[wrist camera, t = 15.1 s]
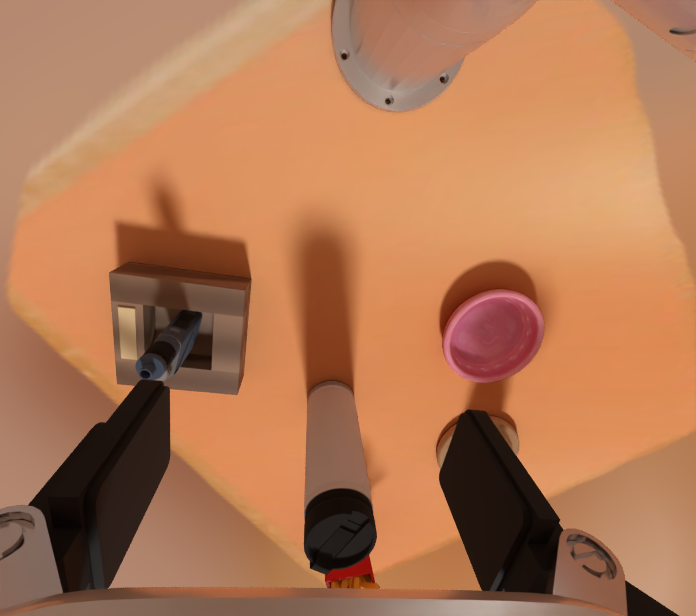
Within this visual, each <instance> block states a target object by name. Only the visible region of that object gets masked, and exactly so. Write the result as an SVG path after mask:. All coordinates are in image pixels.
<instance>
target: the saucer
mask: <svg viewBox="0 0 696 616" xmlns="http://www.w3.org/2000/svg"><path fill="white" fill-rule="evenodd" d="M543 336H544V320H543V316H542V313H541V311H540V309H539V308H538V306H537V305H536V304H535V303H534V302H533V301H532V300H531V299H530V298H528V297H527V296H525V295H523V294H521V293H519V292H516V291H513V290H507V289H494V290H489V291H485V292H482V293H479V294H477V295H475V296H473V297H471V298H469V299H468V300H466V301H465V302H464V303H462V304H461V305H460V306H459V307H458V308H457V309H456V310H455V311H454V313H453V314H452V315H451V317H450V319H449V320H448V322H447V324H446V327H445V329H444V333H443V339H442V347H443V353H444V356H445V358H446V361H447V362H448V364H449V366H450V367H451V368H452V369H453V370H454V371H455V372H456V373H457V374H458V375H459V376H461V377H463V378H465V379H467V380H470V381H474V382H484V383H485V382H495V381H499V380H502V379H505V378H508V377H510V376H512V375H514V374H516V373H517V372H519V371H520V370H522V369H523V368H524V367H525V366H526V365H528V364H529V363H530V361H531V360H532V359H533V358H534V356H535V355H536V353H537V352H538V350H539V348H540V346H541V343H542V340H543Z"/></svg>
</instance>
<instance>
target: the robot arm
mask: <svg viewBox="0 0 696 616" xmlns="http://www.w3.org/2000/svg"><path fill="white" fill-rule="evenodd" d="M537 1H538V0H336V1H335V6H334V11H333V17H332V44H333V49H334V55H335V59H336V61H337V64H338V67H339V70H340V72H341V74H342V76H343V77H344V79H345V81H346V83H347V84H348V86H349V87H350V88H351V89H352V90H353V92H354V93H355V94H356V95H357V96H358V97H360V98H361V99H362V100H363V101H365V102H366V103H368V104H369V105H371V106H373V107H375V108H377V109H381V110H384V111H388V112H405V111H411V110H414V109H417V108H420V107H422V106H424V105H426V104H428V103H429V102H431V101H433V100H434V99H435V98H437V97H438V96H439V95H440V94H442V93H443V92H444V91H445V90H446V89H447V87H448V86H449V85H450V84H451V83H452V81H453V80H454V78H455V76H456V75H457V73H458V72H459V70H460V68H461V65H462V63H463V61H464V58H465V57H466V56H467V55H469V54H470V53H472V52H473V51H474V50H476V49H477V48H479V47H480V46H482V45H483V44H484V43H486V42H487V41H489V40H490V39H492V38H493V37H495V36H496V35H497V34H499V33H500V32H501V31H503V30H504V29H506V28H507V27H508V26H510V25H511V24H513V23H514V22H515V21H517V20H518V19H519V18H520V17H521V16H523V15H524V14H525V13H526V12H527V11H528V10H529V9H530V8H531V7H532V6H533V5H534V4H535V3H536V2H537ZM611 1H612V2H614V3H615V4H616V5H618V6H619V7H620V8H622V9H623V10H624V11H626V12H627V13H629V14H630V15H631V16H633V17H634V18H635V19H637V20H638V21H639V22H641V23H642V24H644V25H645V26H646V27H647V28H649V29H650V30H652V31H653V32H654V33H656V34H657V35H658V36H660V37H661V38H663V39H664V40H665V41H667V42H668V43H670V44H671V45H672V46H674V47H675V48H677V49H678V50H679V51H681V52H682V53H684V54H685V55H687V56H688V57H690V59H692V60H694V61H696V0H611ZM343 54H345V55H346V56H347V59H346V60H343V59H342V57H341V56H342V55H343ZM440 77H442V78H443V79H444V81H443V83H441V82H440ZM386 99H389V100H390V104H388V105H387V104H386V103H385V100H386ZM169 460H170V388H169V387H168V386H164V383H163V381H159V380H148V379H141V380H140V381H139V382H138V383H137V384H136V386H135V387H134V388H133V389H132V391H131V392H130V393H129V394H128V396H127V397H126V398H125V399H124V401H123V402H122V403H121V404H120V406H119V407H118V408H117V409H116V411H115V412H114V413H113V414H112V416H111V417H110V418H109V420H108V421H107V422H106V423H102V422H100V423H98V424H96V425H95V426H94V427H93V428H92V429H91V430H90V431H89V433H88V434H87V435H86V436H85V437H84V439H83V440H82V441H81V442H80V443H79V445H78V446H77V447H76V448H75V449H74V451H73V452H72V453H71V454H70V456H69V457H68V458H67V459H66V460H65V462H64V463H63V464H62V465H61V466H60V467H59V469H58V470H57V471H56V472H55V473H54V475H53V476H52V477H51V478H50V479H49V481H48V482H47V483H46V484H45V485H44V487H43V488H42V489H41V490H40V492H39V493H38V494H37V495H36V496H35V497H34V499H33V500H32V501H31V502H30V503H29V505H28V506H27V505H17V506H10V507H6V508H2V509H0V616H679V615H677V614H676V613H674V612H673V611H671V610H669V609H668V608H666V607H665V606H663V605H662V604H660V603H659V602H657V601H656V600H654V599H653V598H651V597H650V596H648V595H647V594H645V593H644V592H642V591H641V590H639V589H638V588H636V587H635V586H633V585H631V584H630V583H629V582H627V581H625V575H624V571H623V568H622V566H621V564H620V562H619V560H618V559H617V558H616V556H615V555H614V554H613V553H612V552H611V550H610V549H609V548H608V547H607V546H605V545H604V544H603V543H602V542H601V541H599V540H598V539H596V538H595V537H594V536H592V535H590V534H588V533H586V532H584V531H581V530H577V529H566V530H563V529H562V527H561V526H560V524H559V521H560V519H559V517H558V516H557V514H556V513H555V511H554V510H553V509H552V507H551V506H550V504H549V503H548V501H547V500H546V498H545V497H544V495H543V494H542V492H541V491H540V490H539V488H538V487H537V485H536V484H535V482H534V481H533V479H532V478H531V476H530V475H529V474H528V472H527V471H526V469H525V468H524V466H523V465H522V463H521V462H520V460H519V459H518V458H517V456H516V455H515V453H514V452H513V450H512V449H511V447H510V446H509V444H508V443H507V442H506V440H505V439H504V437H503V436H502V434H501V433H500V431H499V430H498V428H497V427H496V426H495V424H494V423H493V421H492V420H491V418H490V417H489V415H488V414H487V413H486V412H485V411H479V410H466V411H465V413H463V414H461V415H460V417H459V420H458V422H457V425H456V428H455V431H454V434H453V436H452V439H451V442H450V445H449V448H448V450H447V453H446V456H445V459H444V462H443V464H442V467H441V470H440V473H439V481H440V485H441V488H442V490H443V493H444V495H445V498H446V500H447V503H448V506H449V508H450V511H451V513H452V516H453V518H454V521H455V523H456V526H457V529H458V531H459V534H460V536H461V539H462V541H463V544H464V546H465V549H466V552H467V554H468V557H469V559H470V562H471V564H472V567H473V569H474V572H475V574H476V577H477V580H478V582H479V585H480V587H481V589H482V591H467V590H464V591H463V590H416V589H414V590H413V589H410V590H409V589H353V588H264V587H262V588H259V587H255V588H254V587H249V588H248V587H150V588H149V587H148V588H146V587H145V588H144V587H143V588H111V589H107V588H109V586H110V585H111V583H112V581H113V579H114V577H115V575H116V573H117V571H118V569H119V567H120V565H121V563H122V561H123V558H124V556H125V554H126V552H127V550H128V548H129V546H130V544H131V542H132V540H133V538H134V535H135V534H136V531H137V529H138V527H139V525H140V523H141V521H142V519H143V517H144V515H145V512H146V511H147V509H148V506H149V504H150V502H151V500H152V498H153V496H154V494H155V492H156V490H157V488H158V486H159V484H160V481H161V479H162V477H163V475H164V473H165V471H166V469H167V467H168V464H169Z"/></svg>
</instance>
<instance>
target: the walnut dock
mask: <svg viewBox="0 0 696 616" xmlns="http://www.w3.org/2000/svg"><path fill="white" fill-rule="evenodd" d="M109 278H110V292H111V306H112V320H113V334H114V348H115V362H116V376H117V384H121V385H132V386H136V384H137V383H138V382H139V381H140V380H141V378H140V377H139V375H138V373H137V371H136V368H135V365H136V362H137V360H138V359H139V358H140V357H141V356H142V355H143V354H145V351H146V350H147V349H148V348H149V347H150V346H151V345H152V344H153V342H154V341H155V339H156V338H157V337H158V336H159V335H160V334H161V332H162V331H163V330H164V329H165V328H166V327H167V326H168V325H169V324H170V322H171V321H172V320H173V319H174V318H175V317H176V316H177V315H178V314H179V312H180V311H181V310H190V311H198V312H199V313H200V314H201V313H202V320H201V324H200V327H199V331H198V334H197V338H196V341H195V342H194V346H193V348H192V349H191V351H190V352H189V354H188V356H187V357H186V359H185V360H184V362H183V363H182V365H181V366H180V368H179V369H178V371H177V372H176V373H175V374H174V375H173V376H172V377H170V378H168V379H167V380H166V381H165V382H163V383H164V386H168V387H169V388H170V389H177V390H188V391H199V392H210V393H221V394H232V395H237V394H238V391H239V388H240V385H241V382H242V379H243V376H244V365H245V352H246V340H247V328H248V315H249V303H250V290H251V279H249V278H241V277H234V276H227V275H220V274H212V273H205V272H198V271H191V270H183V269H176V268H169V267H162V266H154V265H147V264H140V263H133V262H128V263H126V264H124V265H122V266H120V267H118V268H117V269H115V270H113V271H111V272H109Z"/></svg>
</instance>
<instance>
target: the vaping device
mask: <svg viewBox="0 0 696 616" xmlns="http://www.w3.org/2000/svg"><path fill="white" fill-rule="evenodd" d="M201 320H202V313H201V314H200V313H199V312H198V311H190V310H181V311H180V312H179V314H178V315H177V316H176V317H175V318H174V319H173V320H172V321H171V322H170V324H169V325H168V326H167V327H166V328H165V329H164V330H163V331H162V332H161V334H160V335H159V336H158V337H157V338H156V339H155V341H154V342H153V344H152V345H151V346H150V347H149V348H148V349H147V350H146V351H145V354H143V355H142V356H141V357H140V358H139V359H138V360H137V362H136V365H135V368H136V371H137V373H138V375H139V377H140V378H141V379H148V380H159V381H163V382H165V381H166V380H167V379H168V378H170V377H172V376H173V375H174V374H175V373H176V372H177V371H178V369H179V368H180V366H181V365H182V363H183V362H184V360H185V359H186V357H187V356H188V354H189V352H190V351H191V349H192V348H193V346H194V342H195V341H196V338H197V334H198V331H199V327H200V324H201Z"/></svg>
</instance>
